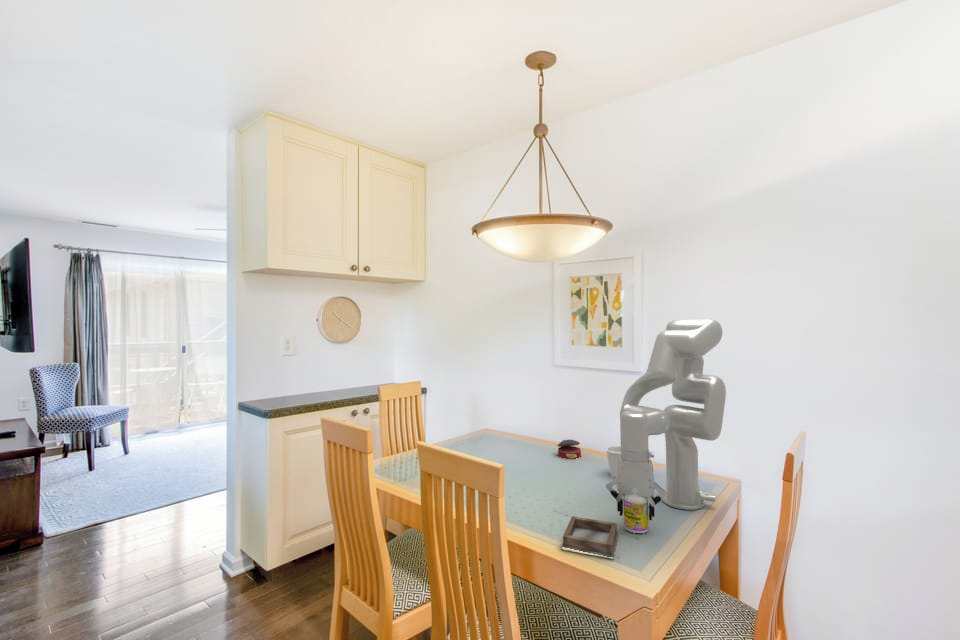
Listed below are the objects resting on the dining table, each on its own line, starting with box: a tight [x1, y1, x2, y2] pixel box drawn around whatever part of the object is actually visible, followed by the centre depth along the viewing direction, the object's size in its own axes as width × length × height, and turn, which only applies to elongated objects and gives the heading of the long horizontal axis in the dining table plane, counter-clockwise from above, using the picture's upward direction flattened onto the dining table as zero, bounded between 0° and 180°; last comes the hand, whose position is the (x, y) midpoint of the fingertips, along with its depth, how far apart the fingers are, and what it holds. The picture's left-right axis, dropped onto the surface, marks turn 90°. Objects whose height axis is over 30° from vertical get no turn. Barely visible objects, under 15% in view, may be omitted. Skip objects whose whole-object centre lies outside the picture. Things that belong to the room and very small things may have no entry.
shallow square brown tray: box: [561, 515, 619, 558], centre depth 118 cm, size 13×13×4 cm
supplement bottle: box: [623, 488, 649, 534], centre depth 125 cm, size 7×7×13 cm
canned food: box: [556, 439, 582, 460], centre depth 191 cm, size 11×10×10 cm
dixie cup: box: [605, 445, 621, 478], centre depth 167 cm, size 8×8×10 cm
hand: (635, 515), depth 125 cm, fingers open, 7 cm apart
